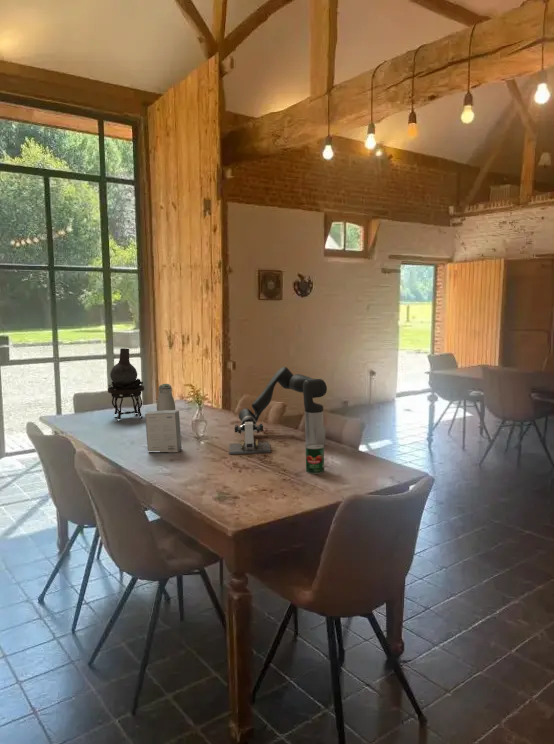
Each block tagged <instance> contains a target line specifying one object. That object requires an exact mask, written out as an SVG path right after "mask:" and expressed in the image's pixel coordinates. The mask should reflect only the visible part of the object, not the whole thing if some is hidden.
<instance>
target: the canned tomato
mask: <svg viewBox="0 0 554 744" xmlns="http://www.w3.org/2000/svg"><path fill="white" fill-rule="evenodd" d="M305 472H306V473H307V474H309V475H310V474H311V475H318V474H323V473H324V472H325V445H322V444H309V445H306V444H305Z"/></svg>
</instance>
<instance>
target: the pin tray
mask: <svg viewBox="0 0 554 744" xmlns="http://www.w3.org/2000/svg"><path fill="white" fill-rule="evenodd" d="M254 440H255V441H254V448H248V449H246V446H245V442H244V441H245V439H242V440H241V442H240V443H239V442H238V443H230V444H229V447H228V448H229V449H228V450H229V453H228V454H229V455H243V454H244V455H250V454H251V455H252V454H267V453H268V454H269V453H272V449H271V444H270V441H263V442H260V441H259V440H258V438H257V439H256V438H255V439H254Z"/></svg>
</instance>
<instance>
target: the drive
mask: <svg viewBox="0 0 554 744" xmlns="http://www.w3.org/2000/svg"><path fill="white" fill-rule="evenodd" d="M254 440H255V438H254V431H253V422H245V432H244V441H245V442H244V443H245V446H246V449H248V448H254V443H255V441H254Z"/></svg>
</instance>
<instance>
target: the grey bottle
mask: <svg viewBox="0 0 554 744" xmlns="http://www.w3.org/2000/svg"><path fill="white" fill-rule="evenodd" d="M175 403H176V402H175V400H174V397H173V388H172V385H171V384H170V383H161V384H160V385H159V386H158V398H157V402H156V411H171V410H176V404H175Z"/></svg>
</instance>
